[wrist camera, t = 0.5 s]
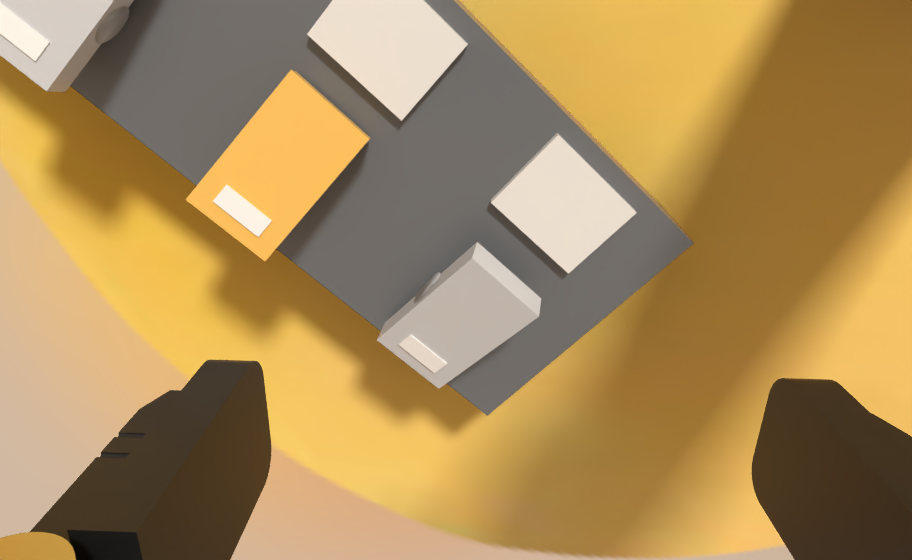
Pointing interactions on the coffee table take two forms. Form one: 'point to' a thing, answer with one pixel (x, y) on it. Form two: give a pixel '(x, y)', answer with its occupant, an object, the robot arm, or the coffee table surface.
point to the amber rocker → (278, 166)
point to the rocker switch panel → (402, 156)
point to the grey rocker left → (57, 36)
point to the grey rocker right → (460, 316)
